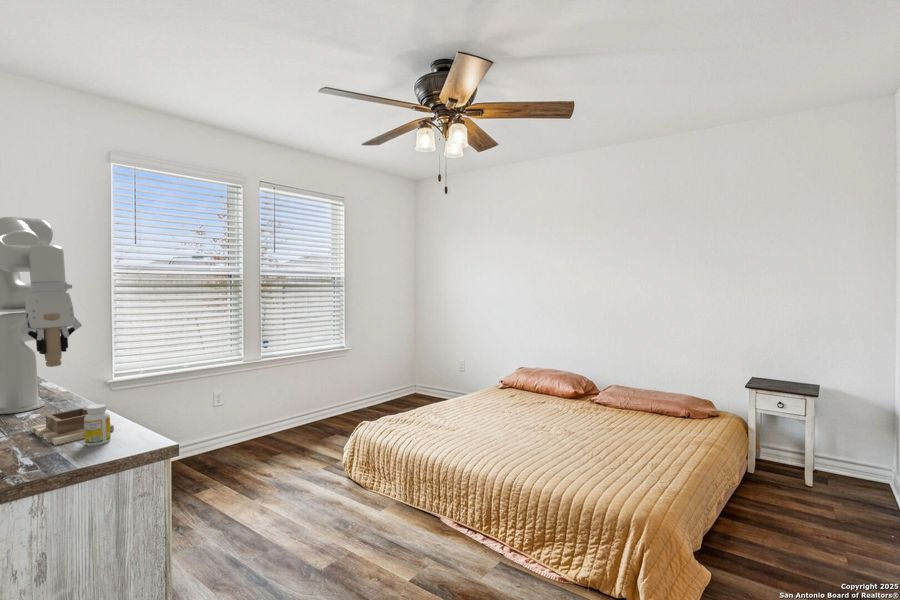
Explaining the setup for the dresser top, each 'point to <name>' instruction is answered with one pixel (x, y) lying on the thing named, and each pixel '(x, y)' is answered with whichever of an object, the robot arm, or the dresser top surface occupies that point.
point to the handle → (52, 343)
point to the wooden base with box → (64, 426)
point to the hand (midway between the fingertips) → (52, 351)
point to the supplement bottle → (97, 425)
